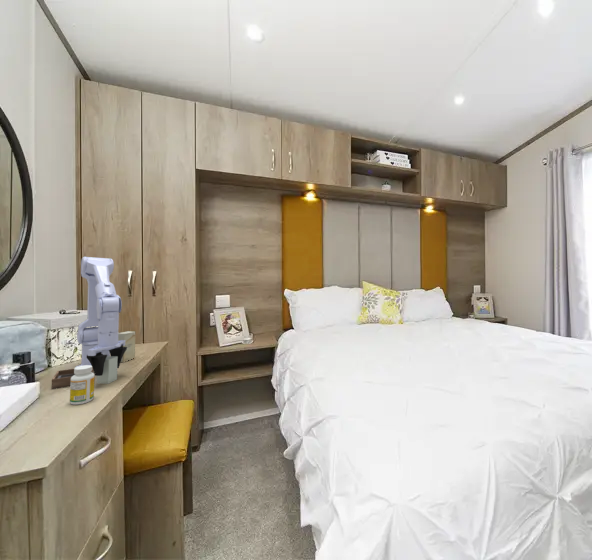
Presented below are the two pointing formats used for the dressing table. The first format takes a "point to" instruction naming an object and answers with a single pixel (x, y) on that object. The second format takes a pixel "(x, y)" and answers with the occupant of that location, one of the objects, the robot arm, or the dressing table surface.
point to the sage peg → (109, 370)
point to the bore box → (63, 378)
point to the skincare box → (128, 345)
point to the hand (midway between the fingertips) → (107, 371)
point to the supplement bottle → (82, 385)
